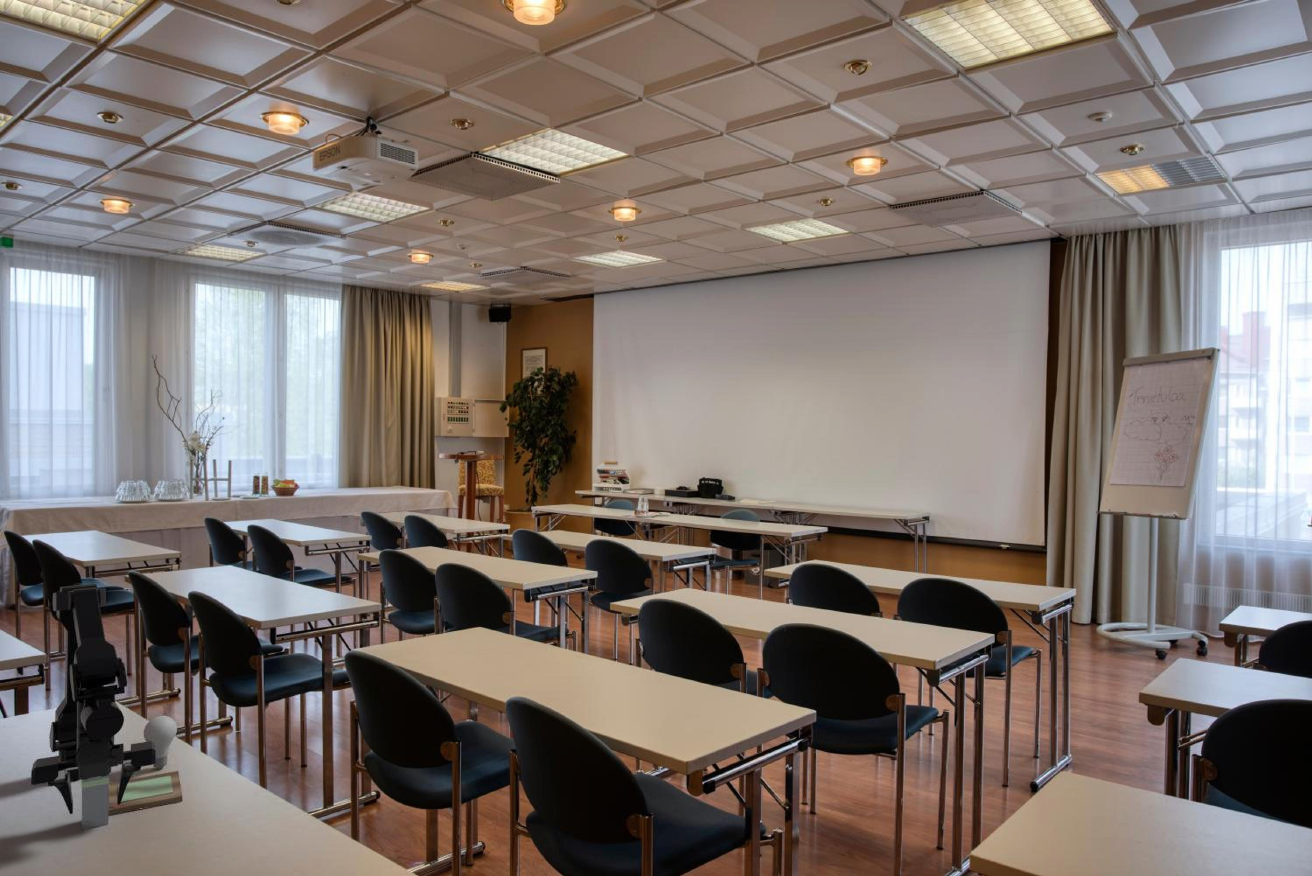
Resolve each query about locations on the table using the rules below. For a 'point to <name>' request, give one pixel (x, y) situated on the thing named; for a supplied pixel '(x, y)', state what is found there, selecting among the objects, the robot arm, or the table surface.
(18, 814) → the table surface
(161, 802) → the stand plate
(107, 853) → the table surface
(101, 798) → the column
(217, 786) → the table surface
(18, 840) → the table surface
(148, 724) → the lightbulb
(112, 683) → the robot arm
